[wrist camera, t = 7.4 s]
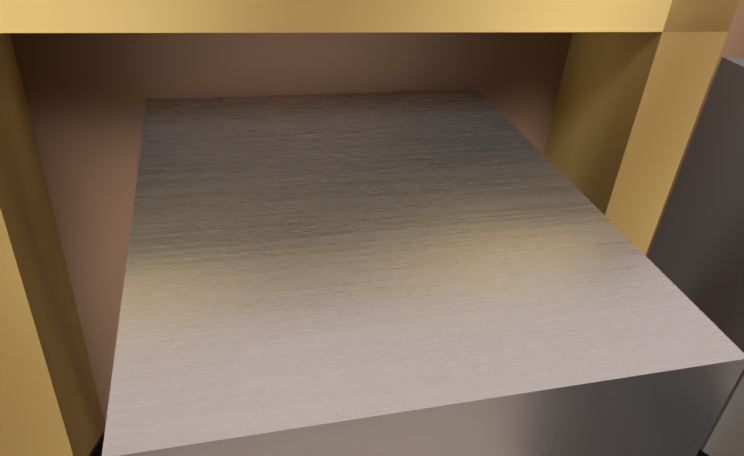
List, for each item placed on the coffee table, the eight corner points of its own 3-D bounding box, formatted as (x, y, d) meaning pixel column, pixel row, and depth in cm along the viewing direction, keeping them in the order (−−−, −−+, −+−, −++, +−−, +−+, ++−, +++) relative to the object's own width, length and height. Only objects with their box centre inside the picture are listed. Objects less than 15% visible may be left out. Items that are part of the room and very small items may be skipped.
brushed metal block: (478, 89, 10) (750, 358, 5) (427, 392, 14) (557, 709, 9) (147, 99, 9) (100, 458, 4) (192, 427, 13) (197, 812, 8)
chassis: (938, -134, 11) (1253, -110, 8) (674, 412, 19) (778, 539, 15) (-340, -238, 7) (-836, -280, 3) (-4, 528, 14) (-59, 739, 11)
